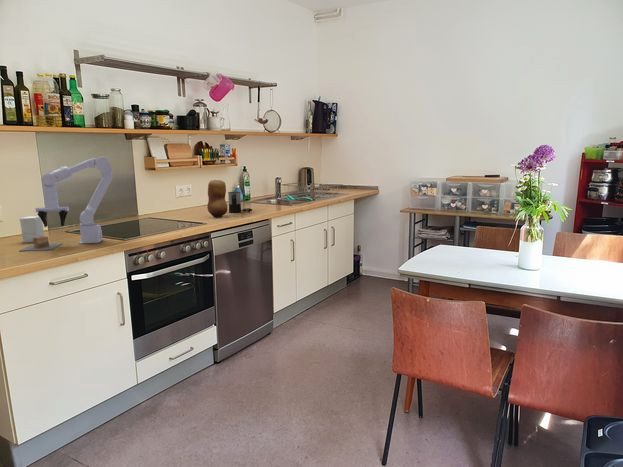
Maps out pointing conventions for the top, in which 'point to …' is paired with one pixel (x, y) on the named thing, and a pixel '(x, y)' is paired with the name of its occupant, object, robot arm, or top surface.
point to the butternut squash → (217, 198)
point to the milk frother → (236, 203)
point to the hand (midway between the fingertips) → (54, 226)
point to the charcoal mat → (32, 248)
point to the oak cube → (40, 241)
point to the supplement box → (31, 228)
